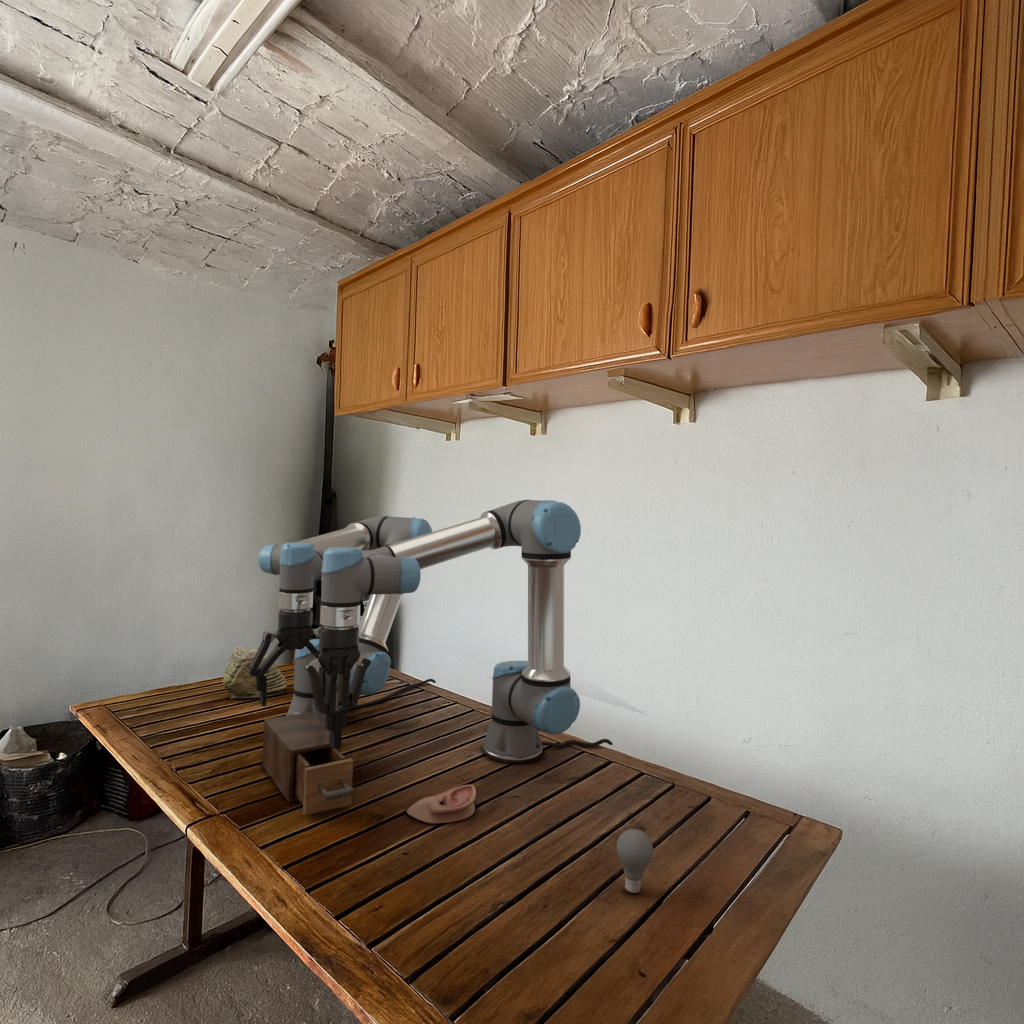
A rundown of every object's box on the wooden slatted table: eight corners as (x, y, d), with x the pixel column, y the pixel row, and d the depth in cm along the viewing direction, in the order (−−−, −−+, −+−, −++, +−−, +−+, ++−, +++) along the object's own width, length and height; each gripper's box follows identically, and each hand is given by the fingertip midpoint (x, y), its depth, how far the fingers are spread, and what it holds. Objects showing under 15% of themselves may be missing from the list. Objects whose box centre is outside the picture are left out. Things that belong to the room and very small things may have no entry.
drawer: (362, 816, 125) (364, 770, 125) (314, 829, 119) (316, 781, 119) (319, 767, 146) (320, 728, 146) (276, 776, 140) (278, 736, 140)
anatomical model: (401, 799, 125) (421, 775, 137) (400, 819, 126) (420, 793, 137) (466, 808, 123) (481, 783, 134) (465, 829, 123) (480, 802, 134)
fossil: (218, 695, 195) (220, 647, 195) (278, 685, 208) (279, 640, 207) (228, 703, 189) (230, 653, 188) (289, 692, 201) (290, 645, 201)
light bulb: (610, 879, 108) (613, 822, 108) (644, 879, 109) (647, 822, 109) (619, 902, 102) (622, 840, 102) (655, 901, 103) (658, 840, 103)
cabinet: (339, 790, 137) (341, 741, 137) (288, 802, 131) (290, 750, 130) (308, 756, 154) (309, 711, 154) (262, 765, 148) (263, 719, 148)
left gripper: (242, 616, 137) (239, 713, 138) (353, 608, 151) (350, 696, 152) (234, 610, 143) (232, 703, 144) (341, 603, 158) (339, 687, 158)
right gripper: (312, 632, 117) (307, 759, 118) (378, 627, 125) (373, 745, 125) (300, 625, 123) (295, 745, 124) (363, 620, 131) (359, 733, 131)
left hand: (293, 699), depth 148 cm, fingers open, 13 cm apart
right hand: (335, 745), depth 125 cm, fingers closed
